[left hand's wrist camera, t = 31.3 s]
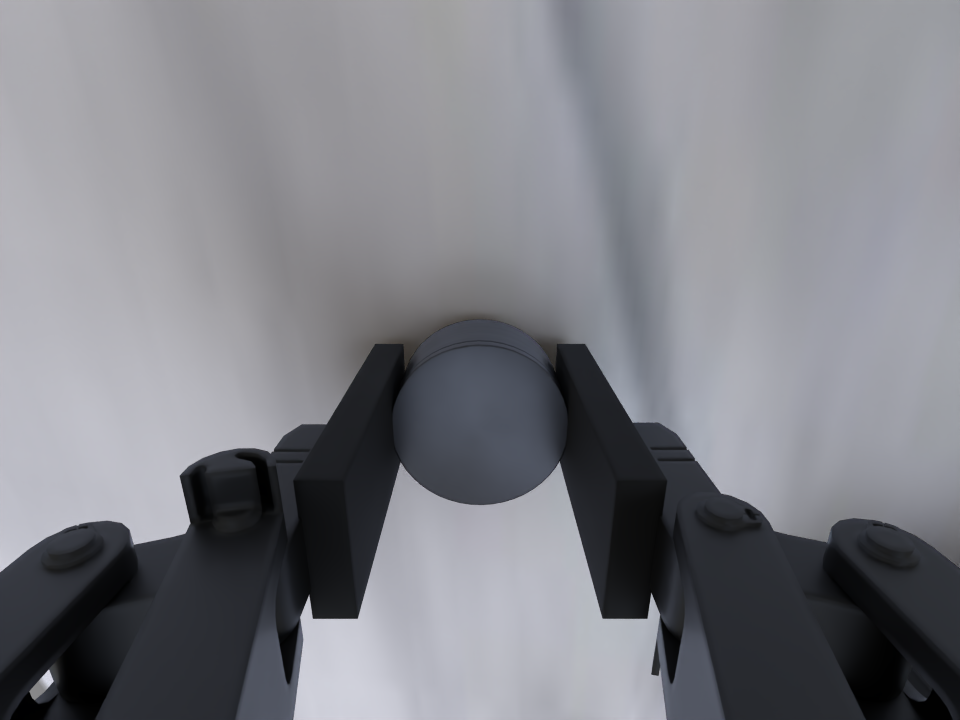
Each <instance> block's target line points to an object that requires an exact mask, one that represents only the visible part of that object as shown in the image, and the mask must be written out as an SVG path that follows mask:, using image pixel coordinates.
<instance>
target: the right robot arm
mask: <svg viewBox="0 0 960 720" xmlns="http://www.w3.org/2000/svg"><path fill="white" fill-rule="evenodd" d="M908 681H909V682H910V683H911V684H912V685H913V686H914V688H915V689H916V690H917V691H918V692H919V693H921V694H922V695H923V696H924V697H925V698H928V697H929V696H930V693H931V691H932V689H933V688H932V687H931V686H930V685H929V684H928V683H927V682H926V681H925V679H924V678H923V677H922V676H921V675H920V674H919V673H918V672H917V671H916V670H915V668H914V667H913V666H912V669H911V671H910V674H909V676H908Z"/></svg>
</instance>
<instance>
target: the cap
mask: <svg viewBox="0 0 960 720" xmlns="http://www.w3.org/2000/svg"><path fill="white" fill-rule="evenodd" d="M392 420H393V436H394V448H395V451H396V453H397V455H398V457H399V460H400V461H401V463H402V464H403V466H404V468H405V469H406V470H407V471H408V473H409V474H410V475H411V476H412V477H413V478H414V479H415V480H416V481H417V482H418V483H419V484H420V485H422V486H423V487H425V488H426V489H427V490H429V491H431V492H432V493H434V494H436V495H438V496H440V497H443V498H445V499H448V500H451V501H455V502H458V503H464V504H471V505H487V504H496V503H501V502H505V501H509V500H512V499H515V498H517V497H520V496H522V495H524V494H526V493H528V492H529V491H531V490H533V489H534V488H535V487H537V486H538V485H539V484H541V483H542V482H543V481H544V480H545V479H546V478H547V477H548V476H549V475H550V474H551V473H552V471H553V470H554V469H555V468H556V466H557V464H558V463H559V461H560V459H561V458H562V455H563V453H564V451H565V448H566V441H567V426H568V408H567V404H566V401H565V398H564V395H563V393H562V390H561V387H560V385H559V382H558V379H557V376H556V374H555V371H554V368H553V366H552V364H551V362H550V360H549V358H548V356H547V354H546V353H545V351H544V350H543V349H542V347H541V346H540V345H539V344H538V343H537V342H536V341H535V340H534V339H533V338H531V337H530V336H529V335H528V334H526V333H525V332H523V331H521V330H520V329H518V328H516V327H513V326H511V325H509V324H505V323H502V322H498V321H493V320H481V319H477V320H467V321H462V322H457V323H455V324H452V325H449V326H446V327H444V328H442V329H440V330H438V331H437V332H436V333H434V334H433V335H431V336H430V337H429V338H427V339H426V340H425V341H424V342H423V343H422V344H421V345H420V346H419V348H418V349H417V350H416V351H415V353H414V354H413V356H412V358H411V359H410V362H409V364H408V366H407V368H406V371H405V374H404V376H403V379H402V382H401V384H400V387H399V390H398V392H397V395H396V398H395V401H394V404H393V408H392Z"/></svg>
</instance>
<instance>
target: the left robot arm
mask: <svg viewBox="0 0 960 720" xmlns="http://www.w3.org/2000/svg"><path fill="white" fill-rule="evenodd" d="M404 374H405V366H404V348H403V344H375V345H374V347H373V349H372V350H371V352H370V354H369V355H368V357H367V359H366V360H365V362H364V364H363V365H362V367H361V369H360V370H359V372H358V374H357V375H356V377H355V379H354V380H353V382H352V384H351V385H350V387H349V389H348V390H347V392H346V393H345V395H344V397H343V398H342V400H341V402H340V403H339V405H338V407H337V408H336V410H335V412H334V413H333V415H332V417H331V418H330V420H329V422H328V423H327V424H302V425H300V426H299V427H297V428H296V429H294V430H292V431H291V432H289V433H288V434H286V435H285V436H284V437H283V438H282V439H281V441H280V442H279V443H278V445H277V446H276V447H275V449H274V452H272V453H271V454H270V453H269V452H268V451H264V450H259V449H255V448H244V449H233V450H228V451H222V452H219V453H216V454H213V455H210V456H207V457H205V458H202V459H201V460H199V461H197V462H195V463H194V464H192V465H190V466H189V467H188V468H187V469H186V470H185V471H184V472H183V473H182V474H181V475H180V479H181V484H182V488H183V492H184V497H185V501H186V505H187V510H188V514H189V518H190V523H191V524H190V526H189V528H188V530H187V532H186V534H183V535H179V536H175V537H171V538H166V539H161V540H156V541H151V542H146V543H141V544H136V545H134V544H133V541H132V537H131V534H130V530H129V529H128V528H127V527H126V526H124V525H123V524H122V523H118V522H112V521H100V522H89V523H84V524H79V525H78V526H77V525H75V526H72V527H69V528H66V529H64V530H62V531H61V532H59V533H56V534H54V535H52V536H50V537H47V538H45V539H44V540H42V541H41V542H39V543H38V544H36V545H35V546H33V547H32V548H30V549H29V550H27V551H26V552H25V553H24V554H22V555H21V556H20V557H19V558H18V559H16V560H15V561H14V562H13V563H11V564H10V565H9V566H8V567H6V568H5V569H4V570H3V571H1V572H0V720H293V718H294V710H295V702H296V694H297V686H298V678H299V670H300V662H301V654H302V646H303V634H302V627H301V620H300V616H301V614H302V611H303V609H304V606H305V604H306V601H307V599H308V596H309V595H310V601H311V608H312V615H313V619H358V616H359V612H360V608H361V605H362V601H363V597H364V594H365V590H366V586H367V583H368V579H369V575H370V572H371V568H372V564H373V561H374V557H375V553H376V550H377V546H378V542H379V539H380V535H381V531H382V528H383V524H384V520H385V517H386V513H387V509H388V506H389V502H390V498H391V495H392V491H393V487H394V484H395V480H396V476H397V473H398V469H399V465H400V462H401V461H400V460H399V457H398V455H397V453H396V451H395V448H394V436H393V420H392V408H393V404H394V401H395V398H396V395H397V392H398V390H399V387H400V384H401V382H402V379H403V376H404ZM555 374H556V376H557V379H558V382H559V385H560V387H561V390H562V393H563V395H564V398H565V401H566V404H567V408H568V426H567V441H566V448H565V451H564V453H563V455H562V458H561V459H560V464H561V468H562V471H563V475H564V479H565V482H566V486H567V490H568V493H569V497H570V501H571V504H572V508H573V512H574V515H575V519H576V523H577V526H578V530H579V534H580V537H581V541H582V545H583V548H584V552H585V556H586V559H587V563H588V567H589V570H590V574H591V578H592V581H593V585H594V589H595V592H596V596H597V600H598V603H599V607H600V611H601V614H602V618H603V619H647V618H648V611H649V604H650V597H651V593H652V595H653V598H654V600H655V603H656V605H657V607H658V610H659V612H660V620H659V627H658V633H657V640H656V646H655V652H654V659H653V666H652V673H651V675H657V676H659V670H660V669H661V677H662V685H663V693H664V701H665V708H666V716H667V720H960V568H958V567H957V566H956V565H955V564H953V563H952V562H951V561H950V560H948V559H947V558H946V557H945V556H943V555H942V554H941V553H940V552H938V551H937V550H936V549H935V548H933V547H932V546H930V545H929V544H927V543H926V542H924V541H923V540H921V539H920V538H918V537H917V536H915V535H913V534H911V533H908V532H906V531H904V530H901V529H899V528H898V527H896V526H894V525H890V524H887V523H885V524H884V523H882V522H880V521H875V520H865V519H855V518H853V519H847V520H841V521H839V522H837V523H836V524H835V525H834V526H833V527H832V528H831V532H830V535H829V539H828V542H827V543H826V542H821V541H816V540H811V539H806V538H801V537H796V536H791V535H787V534H783V533H779V532H775V531H773V529H772V527H771V525H770V523H769V521H768V520H767V519H766V518H765V516H764V515H763V514H762V513H761V512H760V511H759V510H757V509H756V508H754V507H753V506H751V505H750V504H748V503H747V502H744V501H742V500H740V499H737V498H735V497H732V496H729V495H724V494H721V493H720V492H719V490H718V489H717V488H716V486H715V485H714V484H713V482H712V481H711V480H710V478H709V477H708V476H707V474H706V473H705V471H704V470H703V469H702V467H701V466H700V465H699V463H698V462H697V461H695V458H694V457H693V455H692V454H691V453H690V451H689V450H687V449H686V448H687V447H686V446H685V445H684V443H683V442H682V441H681V439H680V438H679V437H678V435H677V434H676V433H674V432H673V431H671V430H669V429H668V428H666V427H665V426H663V425H661V424H660V423H632V421H631V419H630V418H629V416H628V414H627V413H626V411H625V409H624V408H623V406H622V404H621V403H620V401H619V399H618V398H617V396H616V395H615V393H614V391H613V390H612V388H611V386H610V385H609V383H608V381H607V380H606V378H605V376H604V375H603V373H602V371H601V370H600V368H599V366H598V365H597V363H596V361H595V360H594V358H593V356H592V355H591V353H590V351H589V350H588V348H587V346H586V345H585V344H557V354H556V373H555ZM912 666H913V667H914V668H915V670H916V671H917V672H918V673H919V674H920V675H921V676H922V677H923V678H924V679H925V681H926V682H927V683H928V684H929V685H930V686H931V687H932V688H933V689H932V691H931V693H930V696H929V697H928V698H925V697H924V696H923V695H922V694H921V693H919V692H918V691H917V690H916V689H915V688H914V686H913V685H912V684H911V683H910V682H909V681H908V676H909V674H910V671H911V669H912ZM48 670H50V673H51V675H52V678H53V680H54V682H53V683H52V684H51V685H50V687H49V688H48V689H47V690H46V691H45V692H44V693H43V694H42V695H41V696H39V697H38V698H37V699H36V700H34V699H32V697H31V695H30V692H29V691H30V690H31V688H32V687H33V686H34V685H35V684H36V683H37V682H38V681H39V680H40V678H41V677H42V676H43V675H44V674H45V673H46V672H47V671H48Z"/></svg>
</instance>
